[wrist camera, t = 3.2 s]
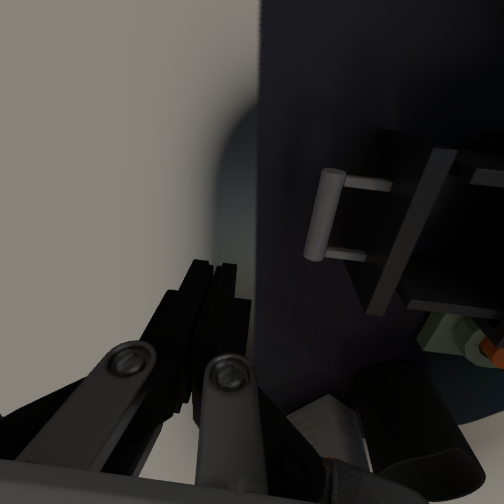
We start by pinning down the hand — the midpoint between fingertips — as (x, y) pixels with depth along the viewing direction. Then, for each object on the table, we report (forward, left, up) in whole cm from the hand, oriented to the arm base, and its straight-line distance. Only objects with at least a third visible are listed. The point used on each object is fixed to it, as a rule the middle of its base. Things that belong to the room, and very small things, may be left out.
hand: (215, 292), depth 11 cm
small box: (+31, +13, -14) cm, 36 cm away
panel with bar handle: (0, +13, -13) cm, 19 cm away
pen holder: (+23, +20, -14) cm, 33 cm away
